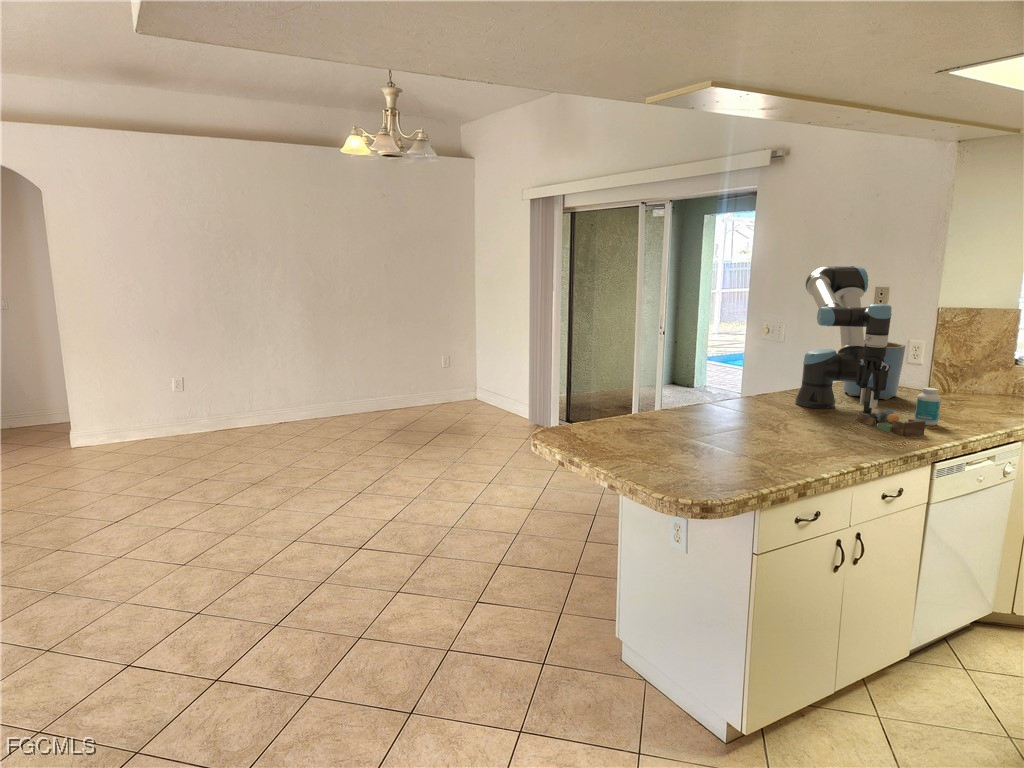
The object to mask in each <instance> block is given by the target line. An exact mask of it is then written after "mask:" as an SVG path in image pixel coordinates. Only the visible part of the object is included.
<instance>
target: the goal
mask: <svg viewBox="0 0 1024 768" xmlns="http://www.w3.org/2000/svg"><path fill="white" fill-rule="evenodd" d="M903 422H904V421H901V422H900V420H899V421H897V420H893V423H892V430H891V432H890V433H893V434H895V435H898V436H902V437H914V436H917V437H918V436H924V435H925V427H926V425H925V422H926V421H917V420H914V419H913V418H908V420H907V421H905V422H904V423H903Z"/></svg>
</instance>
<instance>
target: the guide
mask: <svg viewBox="0 0 1024 768" xmlns="http://www.w3.org/2000/svg"><path fill="white" fill-rule="evenodd" d="M855 421H857V422H860V421H861V423H864V424H866V425H870V426H876V423H883V422H889V421H888V420H884V421H879V420H877V422H876V419H874V418H871V417H868V416H865V415H862V414H859V413H855Z"/></svg>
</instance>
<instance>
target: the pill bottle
mask: <svg viewBox="0 0 1024 768" xmlns="http://www.w3.org/2000/svg"><path fill="white" fill-rule="evenodd" d="M938 392H939V389H938V388H935V387H923V388H922V393H919V394H918V395H917V396H916V397H917V398H916V405H915V413H914V420H917V421H926V422H925V426H936V425H938V421H939V417H940V416H939V415H940V409H941V402H942V398H941V396H940V395H938Z"/></svg>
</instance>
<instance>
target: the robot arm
mask: <svg viewBox="0 0 1024 768" xmlns="http://www.w3.org/2000/svg"><path fill="white" fill-rule="evenodd" d="M868 288H869V275H868V272H867V270H866V269H865V268H864V267H861V266H855V265H851V266H839V265H838V266H832V265H831V266H829V265H828V266H821V267H819V268H816V269H815V270H813V271H812V272H811V273H809V275H807V278H806V280H805V289H806V292H807V293H808V295H811V296H812V298H813V299H814V301H815V304H816V306H817V308H818V310H817V312H816V313H817V314H816V320H817V325H819V326H823V327H825V326H826V327H839V333H840V345H841V348H840V349H838V351H836V350H835V349H831V348H830V349H829V348H821V349H820V348H819V349H812V350H810V351H807V352H806V353H805V355H804V358H803V363H802V364H803V369H802V376H801V377H802V379H801V385H800V388H799V390H798V393H797V395H796V397H795V404H796V405H799V406H802V407H805V408H811V409H812V408H813V409H832V408H835V406H836V399H835V395H834V390H833V382H844V381H845V382H856V385H859V386H860V396H859V397H860V398H859V406H864V401H865V393H866V387H867V385H868V382H869V380H870V379H871V378H872V376H873V389H874V390H872V391H871V399H870V407H869V408H872V409H875V408H878V403H879V400H880V398H879V397H880V391H884V390H885V389H886V383H887V377H888V371H889V369H890V365H886V364H885V363H884V357H885V356H886V351H887V348H886V347H885V346H887V343H888V342H889V334H890V333H889V332H890V326H891V319H892V316H893V315H892V306H891V305H890V304H884V303H883V304H882V303H872V304H870V305H869V306H862V304H861V303H862V302H861V301H862V299H861V298H862V297H863V296H864V294H865V293H867V290H868ZM864 328H865V332H864ZM864 333H865V335H864ZM864 340H865V343H864ZM877 387H878V388H877Z"/></svg>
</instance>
